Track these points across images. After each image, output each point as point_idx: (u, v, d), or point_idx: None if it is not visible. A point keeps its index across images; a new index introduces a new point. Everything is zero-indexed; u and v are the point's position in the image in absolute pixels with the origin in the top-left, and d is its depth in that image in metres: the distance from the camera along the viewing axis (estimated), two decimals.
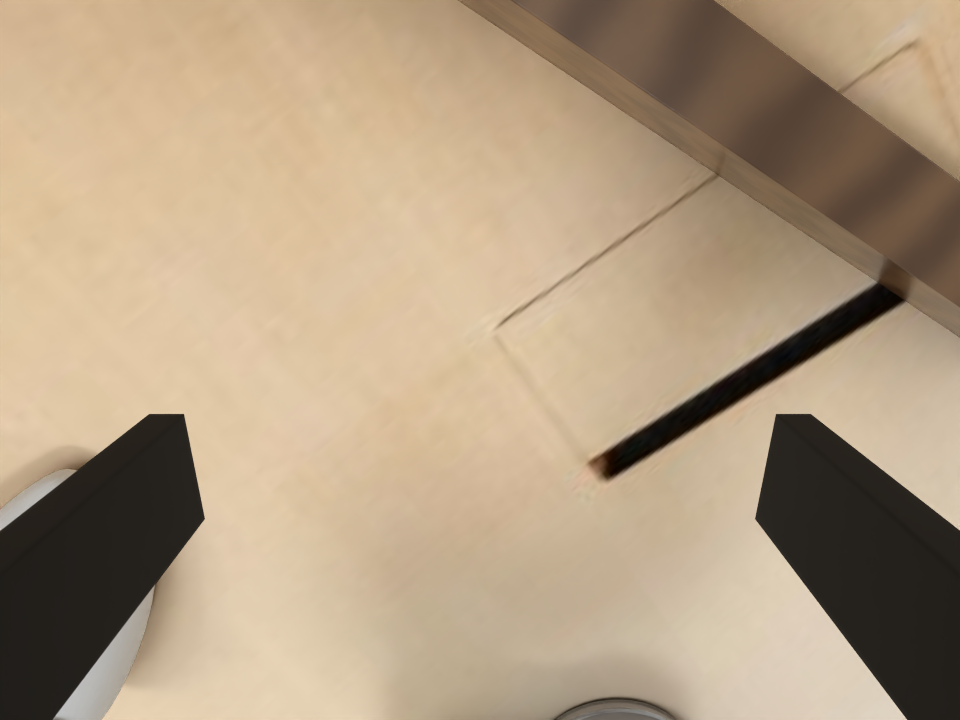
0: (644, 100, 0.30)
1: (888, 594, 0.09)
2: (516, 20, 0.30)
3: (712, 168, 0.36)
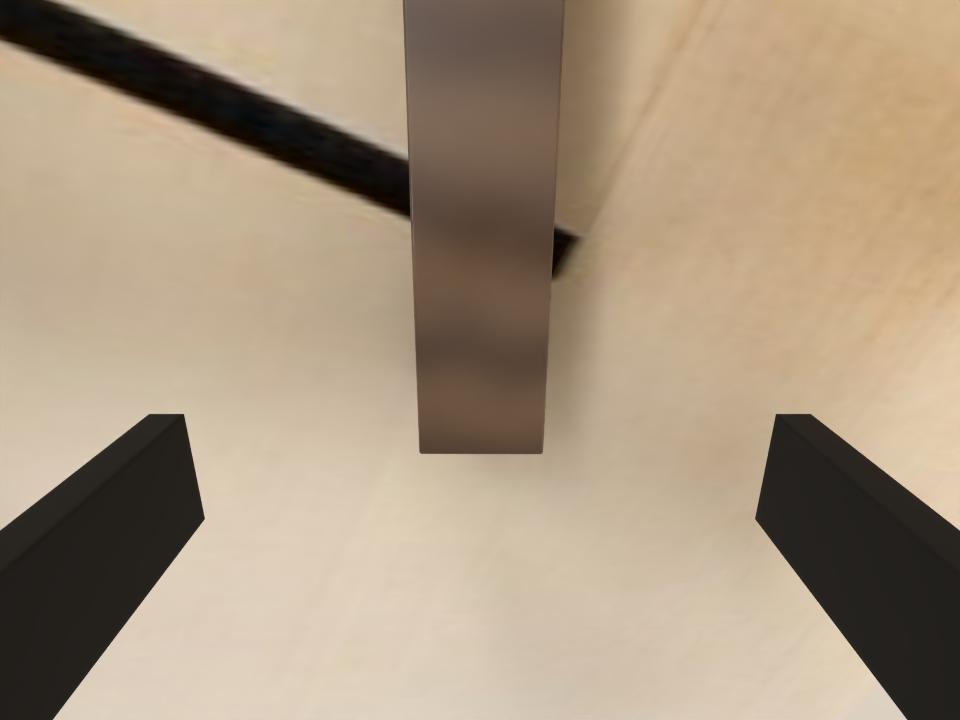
0: None
1: (887, 595, 0.09)
2: None
3: None
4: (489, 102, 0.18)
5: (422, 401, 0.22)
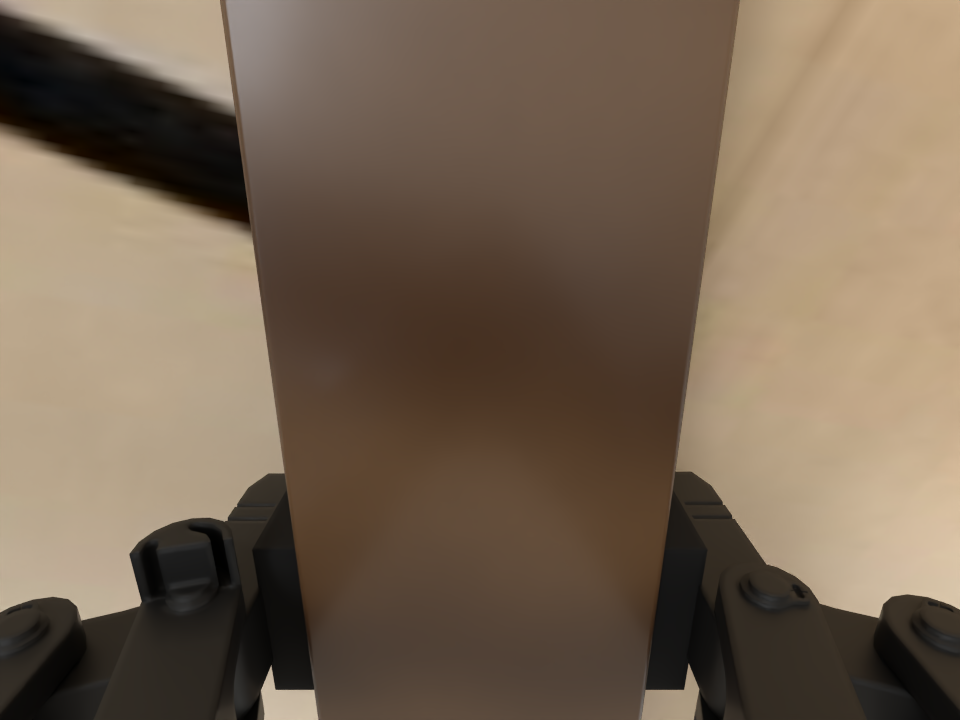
0: None
1: None
2: None
3: None
4: None
5: None
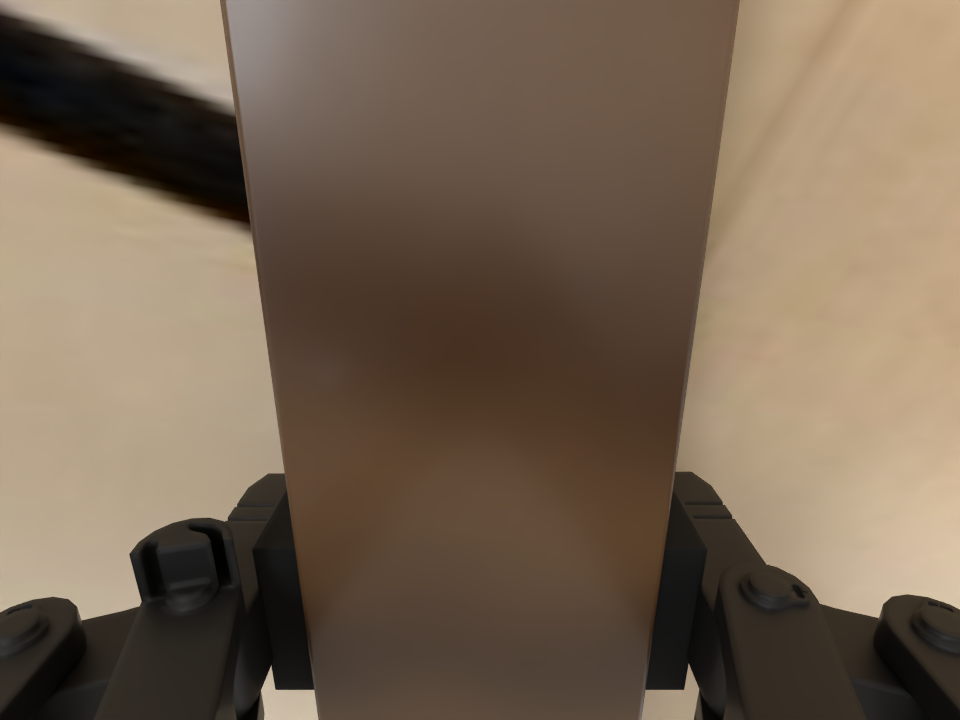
0: None
1: None
2: None
3: None
4: None
5: None
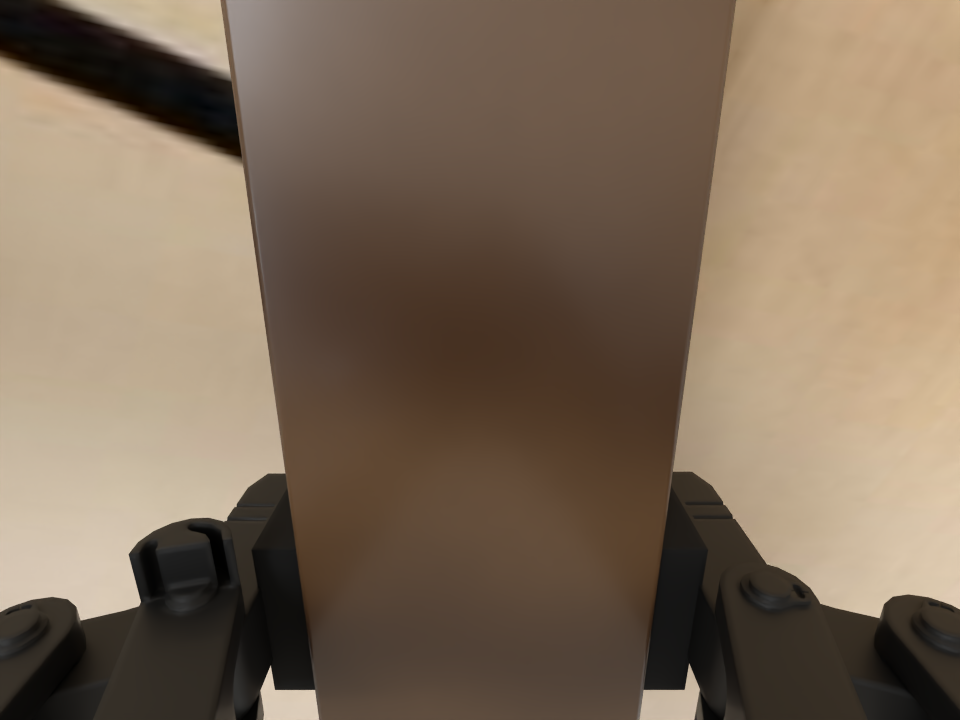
0: None
1: None
2: None
3: None
4: None
5: None
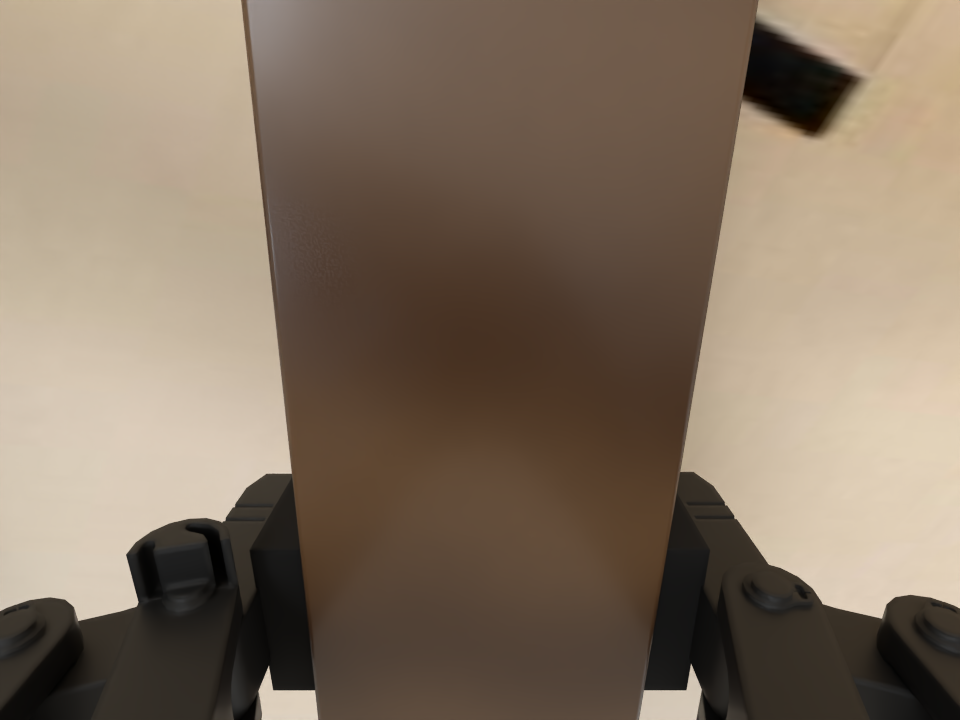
0: None
1: None
2: None
3: None
4: None
5: None
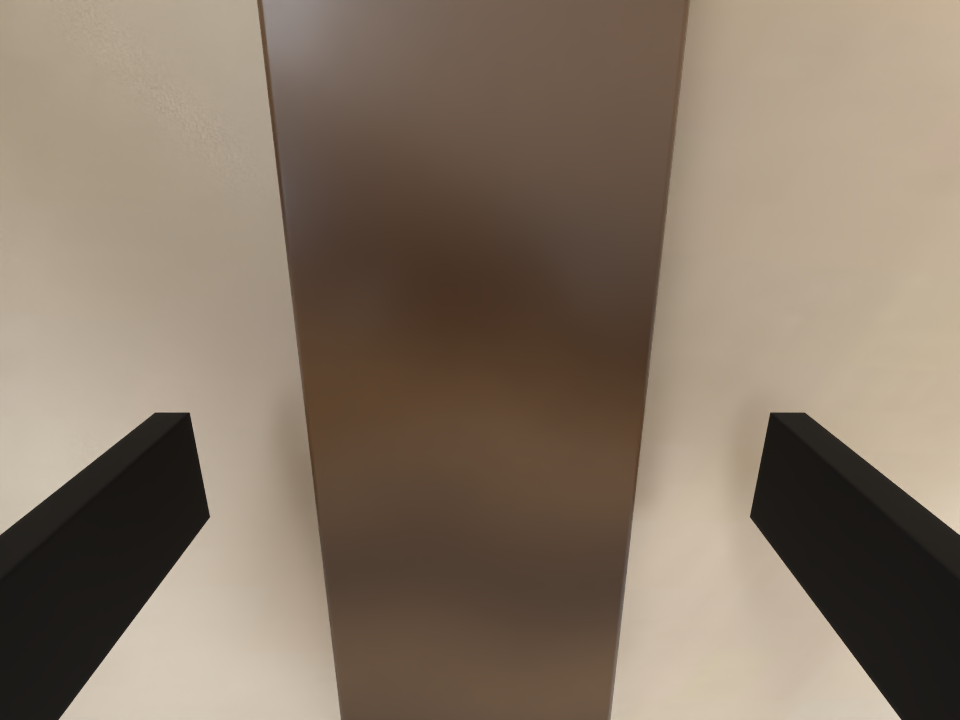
0: None
1: (879, 591, 0.09)
2: None
3: None
4: None
5: (343, 664, 0.10)
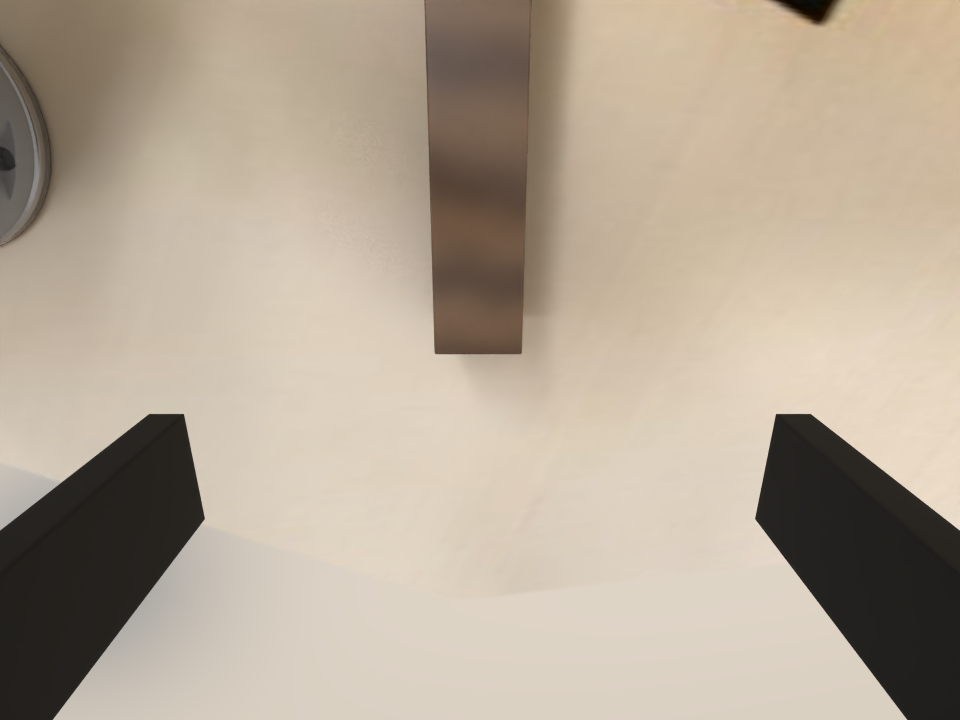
0: None
1: (887, 595, 0.09)
2: None
3: None
4: (482, 106, 0.28)
5: (436, 315, 0.31)
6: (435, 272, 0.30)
